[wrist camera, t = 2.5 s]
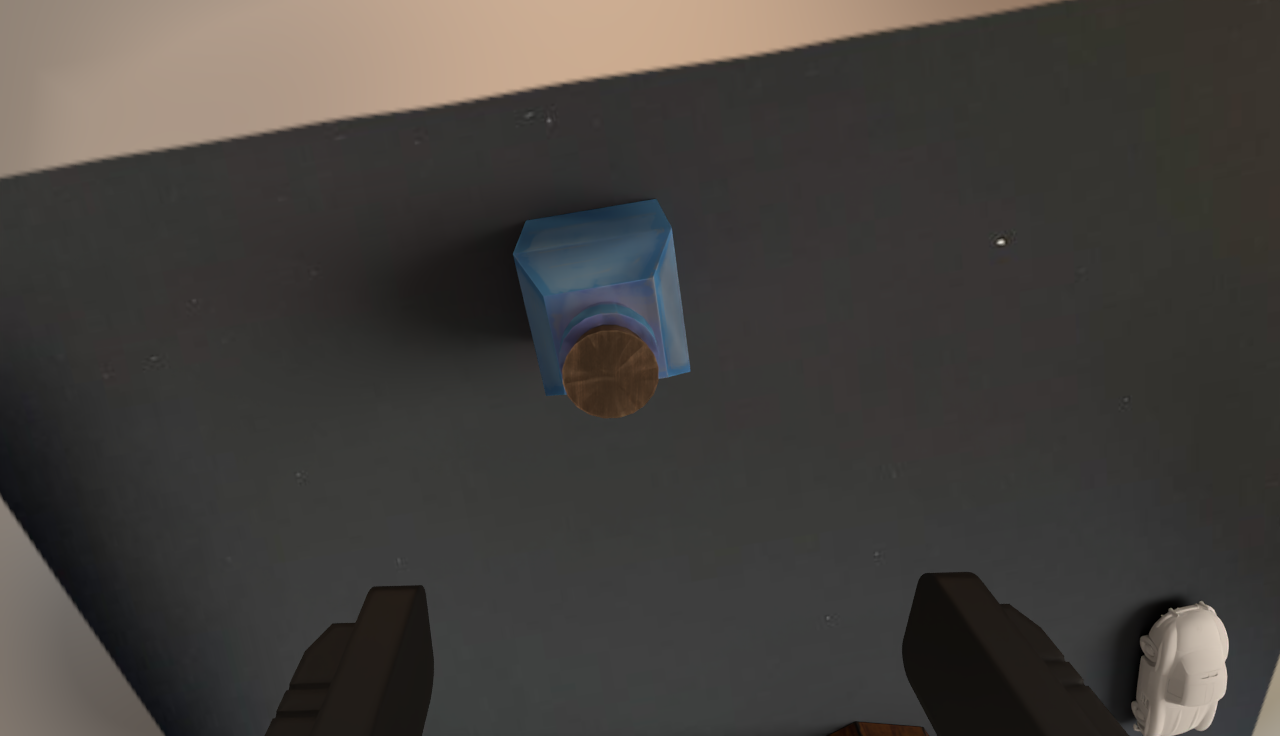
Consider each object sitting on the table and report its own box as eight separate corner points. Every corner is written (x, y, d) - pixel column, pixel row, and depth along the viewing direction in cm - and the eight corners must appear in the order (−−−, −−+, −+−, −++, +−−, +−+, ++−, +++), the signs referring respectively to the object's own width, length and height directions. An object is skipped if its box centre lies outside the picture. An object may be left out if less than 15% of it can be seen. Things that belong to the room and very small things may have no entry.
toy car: (1124, 723, 50) (1160, 768, 47) (1139, 603, 45) (1181, 644, 42) (1189, 709, 50) (1230, 753, 46) (1212, 587, 45) (1259, 627, 41)
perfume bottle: (525, 220, 31) (494, 301, 21) (656, 198, 32) (693, 268, 21) (552, 341, 34) (537, 470, 23) (673, 321, 34) (714, 440, 23)
